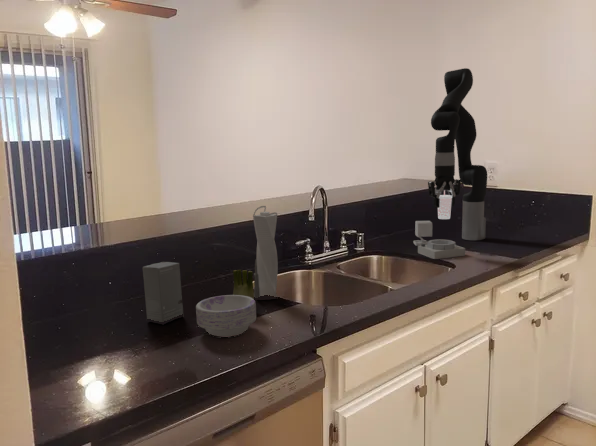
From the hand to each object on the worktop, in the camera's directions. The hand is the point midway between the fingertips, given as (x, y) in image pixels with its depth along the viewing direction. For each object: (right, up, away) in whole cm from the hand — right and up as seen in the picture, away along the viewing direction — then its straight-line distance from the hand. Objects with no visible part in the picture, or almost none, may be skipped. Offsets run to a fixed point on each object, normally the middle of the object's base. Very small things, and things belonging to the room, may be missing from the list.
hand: (444, 206), depth 216 cm
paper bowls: (-76, -35, -75) cm, 112 cm away
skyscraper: (-67, -30, -46) cm, 86 cm away
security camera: (-3, -16, +24) cm, 29 cm away
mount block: (0, -19, +4) cm, 19 cm away
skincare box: (-94, -33, -64) cm, 119 cm away
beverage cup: (0, -5, +1) cm, 5 cm away
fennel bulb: (-73, -32, -58) cm, 99 cm away
